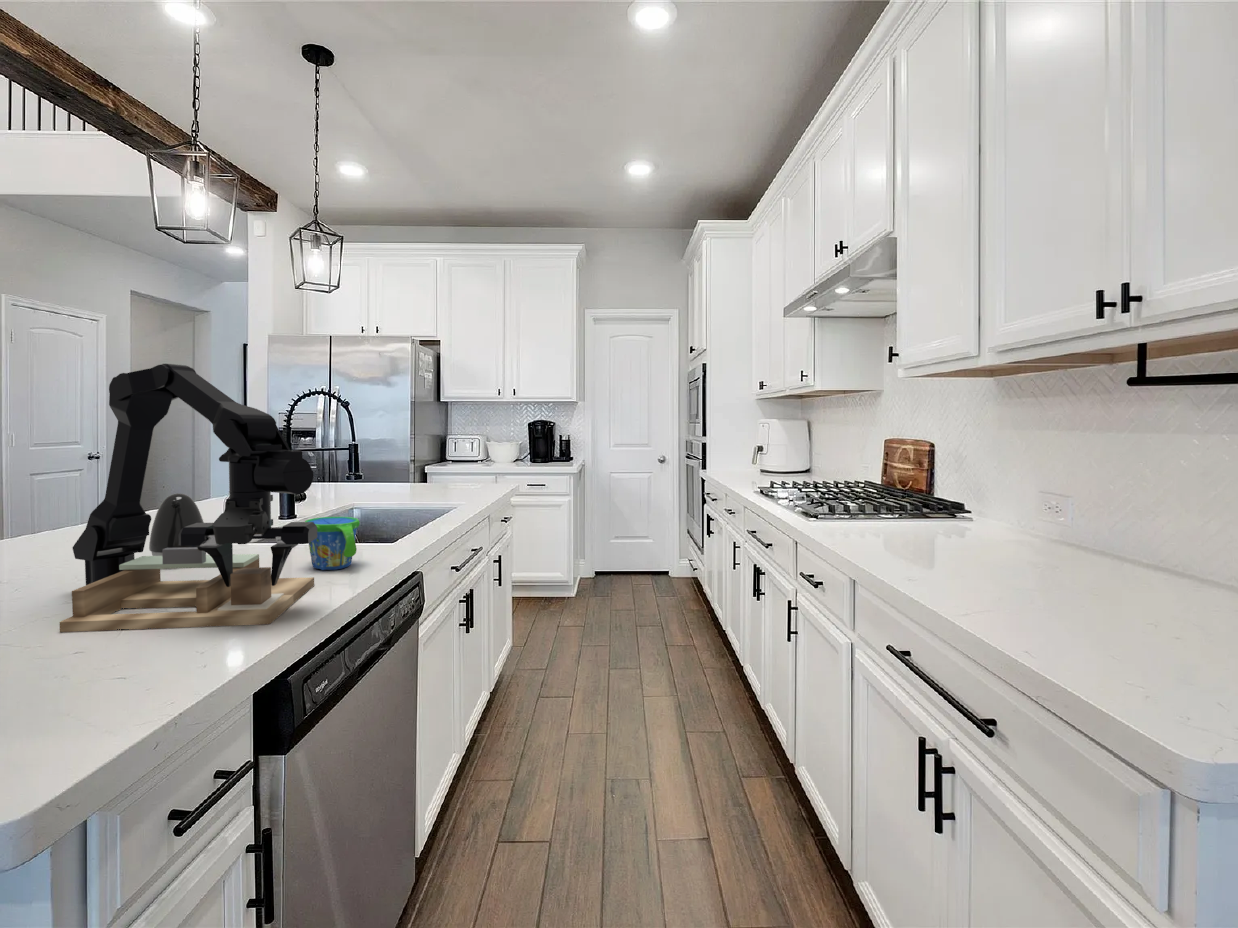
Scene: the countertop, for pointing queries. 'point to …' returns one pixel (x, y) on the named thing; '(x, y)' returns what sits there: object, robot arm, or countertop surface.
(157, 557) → the sliding cover
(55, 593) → the countertop surface
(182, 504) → the dark grey rounded dome
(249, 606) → the cream pad
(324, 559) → the snack cup
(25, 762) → the countertop surface
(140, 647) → the countertop surface
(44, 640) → the countertop surface
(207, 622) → the puzzle board
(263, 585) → the walnut block
